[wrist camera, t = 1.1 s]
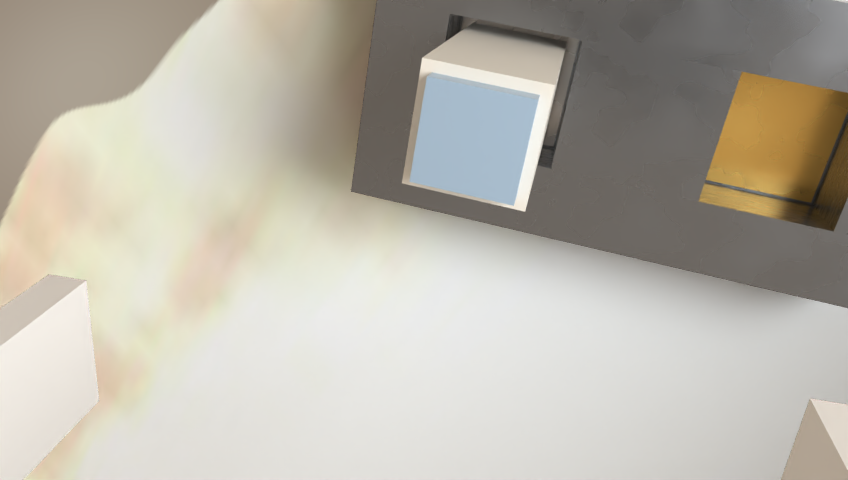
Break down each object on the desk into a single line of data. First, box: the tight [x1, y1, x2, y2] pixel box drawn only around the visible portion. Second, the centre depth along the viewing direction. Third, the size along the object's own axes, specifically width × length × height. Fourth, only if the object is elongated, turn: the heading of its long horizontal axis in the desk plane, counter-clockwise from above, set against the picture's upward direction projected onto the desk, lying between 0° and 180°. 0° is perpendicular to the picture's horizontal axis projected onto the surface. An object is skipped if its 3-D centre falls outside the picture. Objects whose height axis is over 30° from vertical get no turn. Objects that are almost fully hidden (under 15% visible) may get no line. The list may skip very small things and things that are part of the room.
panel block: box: [351, 0, 848, 308], centre depth 33 cm, size 24×12×4 cm, turn 80°
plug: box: [402, 23, 567, 212], centre depth 30 cm, size 4×4×12 cm
